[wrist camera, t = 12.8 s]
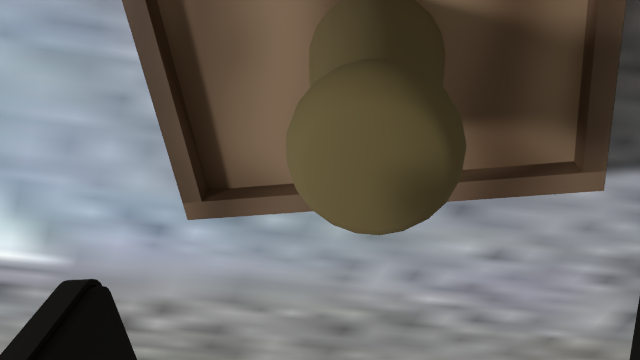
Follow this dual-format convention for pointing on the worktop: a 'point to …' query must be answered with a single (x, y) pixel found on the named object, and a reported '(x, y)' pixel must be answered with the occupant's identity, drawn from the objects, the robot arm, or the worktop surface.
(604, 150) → the walnut tray
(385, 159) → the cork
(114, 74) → the worktop surface
